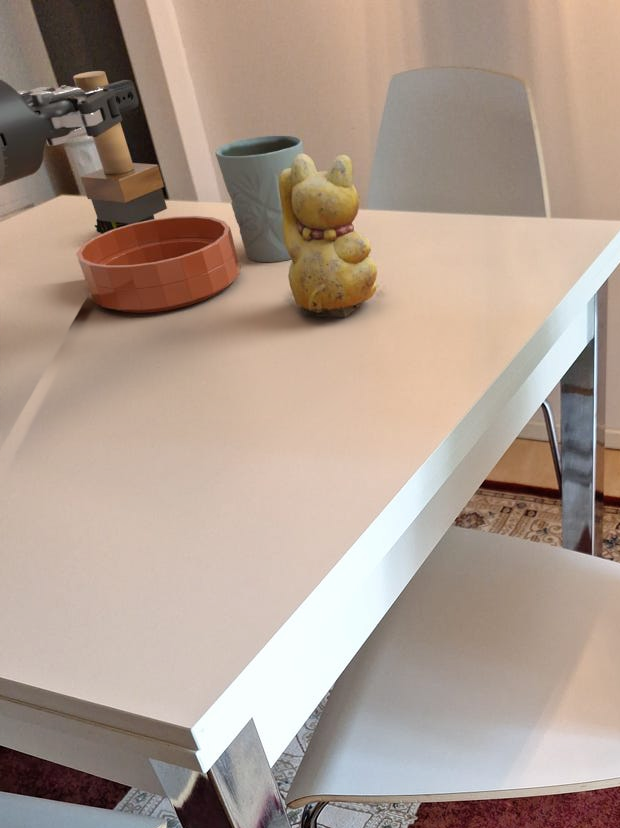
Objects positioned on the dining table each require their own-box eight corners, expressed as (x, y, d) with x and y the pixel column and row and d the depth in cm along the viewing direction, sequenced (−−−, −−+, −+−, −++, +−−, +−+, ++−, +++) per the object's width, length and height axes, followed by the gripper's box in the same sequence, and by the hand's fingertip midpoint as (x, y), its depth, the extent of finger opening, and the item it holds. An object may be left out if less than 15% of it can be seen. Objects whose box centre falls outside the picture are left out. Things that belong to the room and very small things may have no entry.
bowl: (80, 325, 102) (61, 275, 98) (109, 272, 115) (93, 226, 111) (235, 305, 102) (221, 255, 99) (246, 255, 115) (235, 208, 112)
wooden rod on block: (94, 220, 90) (46, 80, 82) (133, 204, 93) (90, 67, 85) (132, 225, 88) (87, 81, 80) (170, 208, 91) (130, 68, 83)
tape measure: (117, 227, 130) (107, 199, 127) (164, 223, 129) (155, 195, 127) (100, 244, 124) (90, 214, 122) (149, 239, 124) (140, 210, 121)
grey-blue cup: (226, 263, 114) (199, 157, 106) (264, 235, 121) (241, 134, 113) (300, 264, 111) (277, 155, 103) (334, 236, 118) (315, 132, 110)
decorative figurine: (389, 295, 101) (367, 144, 91) (369, 325, 95) (342, 167, 85) (306, 296, 103) (275, 148, 93) (281, 326, 97) (245, 172, 87)
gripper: (-66, 184, 80) (83, 134, 91) (41, 194, 75) (187, 139, 86) (-109, 86, 75) (54, 45, 86) (2, 89, 70) (163, 44, 81)
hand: (120, 92), depth 86 cm, fingers closed on wooden rod on block, 3 cm apart
